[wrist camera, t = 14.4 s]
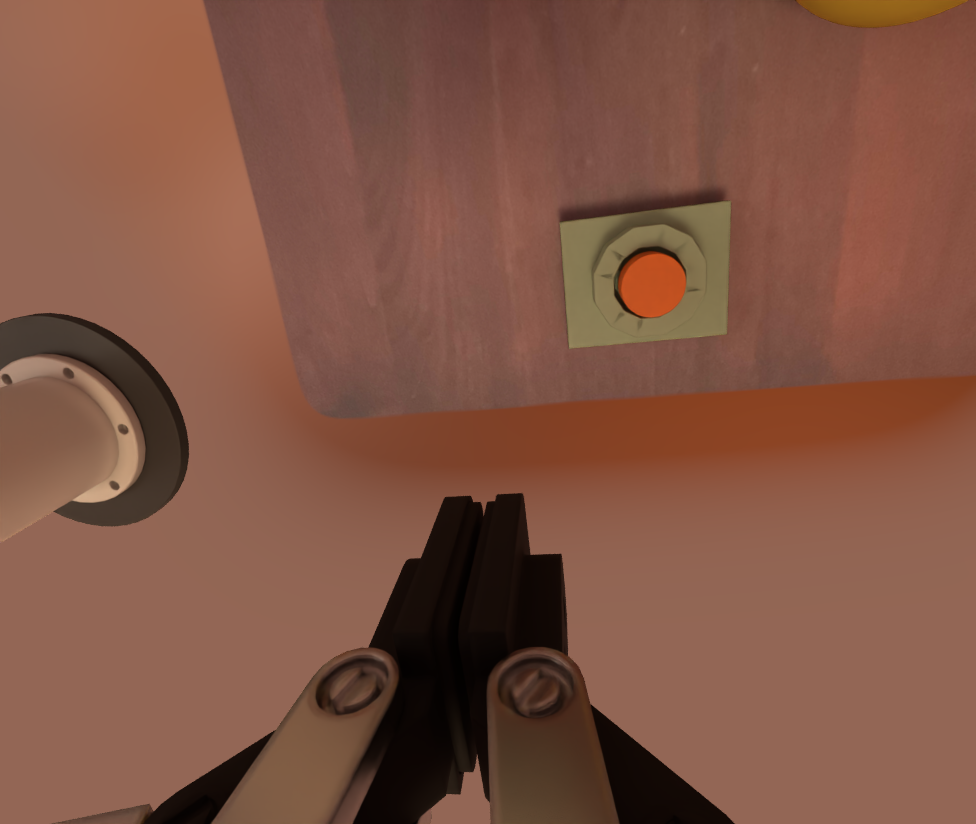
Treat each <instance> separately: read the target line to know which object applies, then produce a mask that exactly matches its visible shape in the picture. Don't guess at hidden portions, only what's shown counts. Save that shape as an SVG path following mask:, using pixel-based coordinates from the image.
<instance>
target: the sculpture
mask: <svg viewBox="0 0 976 824" xmlns="http://www.w3.org/2000/svg"><path fill="white" fill-rule="evenodd" d="M795 1H797V2H798V3H799V4H800V5H801V6H802V7H804V8H805V9H807V10H808V11H810V12H811V13H813V14H814V15H816V16H818V17H821V18H823V19H825V20H828V21H830V22H833V23H837V24H841V25H845V26H852V27H866V28H877V27H888V26H896V25H901V24H906V23H911V22H914V21H918V20H921V19H924V18H927V17H931V16H934V15H937V14H939V13H941V12H944V11H946V10H949V9H951V8H954V7H956V6H958V5H960V4H962V3H964V2H966V1H968V0H795Z"/></svg>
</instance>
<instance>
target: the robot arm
mask: <svg viewBox="0 0 976 824" xmlns="http://www.w3.org/2000/svg"><path fill="white" fill-rule="evenodd" d="M145 452H146V446H145V439H144V434H143V430H142V427H141V424H140V421H139V419H138V417H137V415H136V413H135V411H134V409H133V408H132V406H131V405H130V403H129V402H128V400H127V399H126V398H125V396H124V395H123V393H122V392H121V391H120V390H119V389H118V388H117V387H116V386H115V385H114V384H113V383H112V382H111V381H110V380H109V379H107V378H106V377H105V376H103V375H102V374H101V373H100V372H98V371H97V370H95V369H93V368H92V367H90V366H88V365H86V364H85V363H83V362H80V361H78V360H75V359H72V358H70V357H66V356H61V355H56V354H37V355H33V356H28V357H24V358H21V359H18V360H16V361H13V362H11V363H9V364H8V365H7V366H5V367H4V368H2V369H1V371H0V543H1V542H3V541H5V540H6V539H8V538H10V537H11V536H13V535H15V534H16V533H18V532H20V531H21V530H23V529H25V528H26V527H28V526H30V525H31V524H33V523H35V522H36V521H38V520H40V519H41V518H43V517H45V516H46V515H48V514H50V513H51V512H53V511H55V510H56V509H58V508H60V507H61V506H63V505H65V504H66V503H68V502H70V501H71V500H72V501H77V502H87V503H95V502H101V501H106V500H109V499H111V498H114V497H116V496H118V495H119V494H121V493H122V492H124V491H125V490H127V489H128V488H129V487H130V486H131V485H133V484H134V483H135V482H136V480H137V479H138V477H139V475H140V474H141V472H142V469H143V465H144V462H145ZM528 539H529V538H528V530H527V520H526V512H525V503H524V496H523V494H522V493H518V494H498V495H497V496H496V500H495V501H491V502H487V505H486V509H485V513H484V516H483V509H482V505H481V502H473V500H472V497H471V496H457V497H445V498H444V500H443V503H442V505H441V508H440V511H439V513H438V516H437V518H436V521H435V523H434V526H433V528H432V531H431V534H430V536H429V539H428V541H427V544H426V547H425V549H424V552H423V554H422V557H421V558H415V559H408V560H407V561H406V562H405V564H404V566H403V568H402V570H401V573H400V575H399V578H398V580H397V582H396V584H395V587H394V589H393V591H392V594H391V596H390V598H389V601H388V603H387V605H386V608H385V610H384V613H383V615H382V617H381V619H380V622H379V624H378V626H377V629H376V631H375V634H374V636H373V638H372V640H371V643H370V645H369V647H368V648H359V649H354V650H351V651H347V652H345V653H343V654H340V655H338V656H336V657H334V658H333V659H331V660H330V661H329V662H327V663H326V664H325V665H323V666H322V667H321V668H320V669H319V670H318V672H317V673H316V674H315V675H314V676H313V678H312V679H311V680H310V682H309V683H308V685H307V686H306V687H305V689H304V690H303V692H302V693H301V695H300V696H299V698H298V699H297V700H296V702H295V703H294V705H293V706H292V708H291V709H290V710H289V712H288V713H287V715H286V716H285V718H284V719H283V721H282V722H281V723H280V725H279V726H278V728H277V729H276V730H275V731H273V732H271V733H270V734H268V735H267V736H265V737H264V738H262V739H260V740H259V741H257V742H256V743H254V744H252V745H251V746H249V747H248V748H246V749H244V750H243V751H241V752H240V753H238V754H237V755H235V756H233V757H232V758H230V759H229V760H227V761H226V762H224V763H222V764H221V765H219V766H218V767H216V768H214V769H213V770H211V771H210V772H208V773H206V774H205V775H203V776H202V777H200V778H199V779H197V780H195V781H194V782H192V783H191V784H189V785H187V786H186V787H184V788H183V789H181V790H179V791H178V792H177V793H175V794H174V795H173V796H171V797H170V798H169V799H167V800H166V801H165V802H164V803H162V804H161V805H160V806H159V807H158V808H157V809H156V810H155V811H153V810H152V808H151V806H150V804H147V805H141V806H136V807H132V808H127V809H121V810H117V811H112V812H107V813H102V814H97V815H92V816H87V817H82V818H78V819H73V820H68V821H63V822H58V823H53V824H430V823H431V818H432V815H431V808H432V807H433V806H434V805H435V804H436V803H437V802H439V801H440V800H441V799H442V798H443V797H445V796H446V794H461V788H462V781H463V774H464V772H473V771H474V768H475V764H476V757H477V755H478V760H479V766H480V771H481V777H482V782H483V788H484V793H485V797H486V799H487V800H488V801H489V802H490V819H491V824H734V823H733V822H732V821H731V820H730V818H728V817H727V815H726V814H724V813H723V812H722V811H721V810H720V809H718V808H717V807H716V806H715V805H713V804H712V803H711V802H710V801H709V800H707V799H706V798H705V797H704V796H702V795H701V794H700V793H699V792H697V791H696V790H695V789H694V788H693V787H691V786H690V785H689V784H688V783H686V782H685V781H684V780H683V779H682V778H680V777H679V776H678V775H677V774H675V773H674V772H673V771H672V770H671V769H669V768H668V767H667V766H666V765H664V764H663V763H662V762H661V761H659V760H658V759H657V758H656V757H655V756H653V755H652V754H651V753H650V752H649V751H647V750H646V749H645V748H643V747H642V746H641V745H640V744H639V743H638V742H636V741H635V740H634V739H633V738H631V737H630V736H629V735H628V734H627V733H625V732H624V731H623V730H622V729H620V728H619V727H618V726H617V725H615V724H614V723H613V722H612V721H611V720H609V719H608V718H607V717H606V716H605V715H603V714H602V713H601V712H600V711H598V710H597V709H596V708H595V707H593V706H592V705H591V704H590V701H589V697H588V693H587V689H586V685H585V681H584V678H583V675H582V674H581V671H580V669H579V667H578V666H577V664H576V663H575V662H574V661H573V660H572V659H571V658H570V657H568V639H567V613H566V597H565V584H564V574H563V563H562V555H561V554H543V555H530V547H529V540H528Z"/></svg>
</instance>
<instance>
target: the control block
mask: <svg viewBox="0 0 976 824" xmlns="http://www.w3.org/2000/svg"><path fill="white" fill-rule="evenodd" d="M730 224H731V201H718V202H710V203H702V204H694V205H686V206H679V207H671V208H663V209H655V210H647V211H640V212H632V213H624V214H616V215H608V216H601V217H593V218H585V219H577V220H569V221H561V222H560V236H561V249H562V263H563V277H564V291H565V304H566V318H567V332H568V345H569V348H570V349H571V348H582V347H593V346H604V345H615V344H626V343H637V342H648V341H659V340H670V339H681V338H692V337H703V336H714V335H726V334H727V318H728V287H729V256H730ZM647 251H656V252H661V253H663V254H666V255H668V256H670V257H672V258H674V259H675V260H676V261H677V262H678V263H679V264H680V265H681V266H682V268H683V270H684V273H685V276H686V289H685V292H684V295H683V297H682V299H681V301H680V302H679V304H678V305H677V306H676V307H675V308H674V309H673V310H671V311H670V312H668V313H667V314H664V315H662V316H659V317H643V316H640V315H637V314H635V313H634V312H632V311H631V310H630V309H629V308H628V307H627V306H626V304H625V303H624V301H623V300H622V298H621V296H620V294H619V290H618V279H619V275H620V273H621V270H622V268H623V267H624V265H625V264H626V263H627V262H628V261H629V260H630V259H631V258H632V257H634V256H636V255H638V254H640V253H643V252H647Z"/></svg>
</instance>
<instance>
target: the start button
mask: <svg viewBox="0 0 976 824" xmlns="http://www.w3.org/2000/svg"><path fill="white" fill-rule="evenodd" d="M685 289H686V276H685V273H684V270H683V268H682V266H681V265H680V264H679V263H678V262H677V261H676V260H675V259H674V258H672V257H670V256H668V255H666V254H663V253H661V252H656V251H647V252H643V253H640V254H638V255H636V256H634V257H632V258H631V259H630V260H629V261H628V262H627V263H626V264H625V265H624V267H623V268H622V270H621V273H620V275H619V279H618V290H619V294H620V296H621V298H622V300H623V301H624V303H625V304H626V306H627V307H628V308H629V309H630V310H631V311H632V312H634V313H635V314H637V315H640V316H643V317H659V316H662V315H664V314H667V313H668V312H670V311H671V310H673V309H674V308H675V307H676V306H677V305H678V304H679V302H680V301H681V299H682V297H683V295H684V292H685Z"/></svg>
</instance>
